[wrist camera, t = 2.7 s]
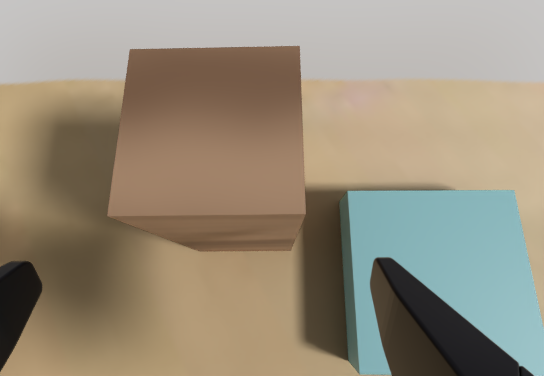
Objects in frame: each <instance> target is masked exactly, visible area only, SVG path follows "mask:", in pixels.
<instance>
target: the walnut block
mask: <svg viewBox="0 0 544 376" xmlns="http://www.w3.org/2000/svg"><path fill="white" fill-rule="evenodd" d="M305 215H306V204H305V177H304V151H303V124H302V97H301V72H300V47H299V46H279V47H278V46H276V47H228V48H227V47H225V48H173V49H130V52H129V60H128V67H127V74H126V82H125V89H124V96H123V103H122V111H121V118H120V125H119V133H118V140H117V147H116V155H115V162H114V169H113V177H112V184H111V191H110V199H109V206H108V213H107V216H108V217H110V218H113V219H116V220H118V221H121V222H124V223H126V224H129V225H131V226H134V227H137V228H139V229H142V230H145V231H147V232H150V233H153V234H155V235H158V236H161V237H163V238H166V239H169V240H171V241H174V242H176V243H179V244H182V245H184V246H187V247H190V248H192V249H195V250H198V251H291V249H292V247H293V244H294V242H295V239H296V237H297V234H298V232H299V230H300V227H301V225H302V222H303V220H304V217H305Z"/></svg>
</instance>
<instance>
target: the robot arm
mask: <svg viewBox="0 0 544 376" xmlns="http://www.w3.org/2000/svg"><path fill="white" fill-rule="evenodd" d="M370 290H371V295H372V300H373V305H374V309H375V314H376V319H377V324H378V328H379V333H380V338H381V342H382V347H383V350H384V353H385V357H386V360H387V363H388V366H389V369H390V372H391V375H392V376H534V375H533V374H532V373H531V372H530V371H528V370H527V369H526V368H525V367H523V366H519V363H518V362H517V361H516V360H515V359H514V358H512V357H511V356H510V355H509V354H508V353H506V352H505V351H504V350H503V349H501V348H500V347H499V346H498V345H497V344H495V343H494V342H493V341H492V340H491V339H489V338H488V337H487V336H486V335H485V334H483V333H482V332H481V331H480V330H479V329H477V328H476V327H475V326H474V325H472V324H471V323H470V322H469V321H468V320H466V319H465V318H464V317H463V316H462V315H460V314H459V313H458V312H457V311H456V310H454V309H453V308H452V307H451V306H449V305H448V304H447V303H446V302H445V301H443V300H442V299H441V298H440V297H439V296H437V295H436V294H435V293H434V292H433V291H431V290H430V289H429V288H428V287H427V286H425V285H424V284H423V283H422V282H420V281H419V280H418V279H417V278H416V277H414V276H413V275H412V274H411V273H410V272H408V271H407V270H406V269H405V268H404V267H402V266H401V265H400V264H399V263H397V262H396V261H395V260H394V259H392V258H390V257H377V258H375V259H374V261H373V266H372V272H371V278H370ZM41 292H42V282H41V280H40V278H39V276H38V274H37V272H36V270H35V268H34V266H33V265H32V263H30V262H29V261H11V262H9V263H7V264H5V265H3V266H1V267H0V372H1V370H2V368H3V367H4V365H5V363H6V362H7V360H8V358H9V356H10V355H11V353H12V351H13V349H14V348H15V346H16V344H17V342H18V340H19V338H20V336H21V334H22V332H23V329H24V327H25V325H26V323H27V321H28V319H29V317H30V315H31V313H32V311H33V309H34V307H35V305H36V302H37V300H38V298H39V296H40V294H41Z"/></svg>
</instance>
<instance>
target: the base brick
mask: <svg viewBox="0 0 544 376" xmlns="http://www.w3.org/2000/svg"><path fill="white" fill-rule="evenodd" d="M339 205H340V223H341V240H342V258H343V275H344V292H345V310H346V327H347V345H348V361H349V362H350V364H351V365H352V366H353V367H354V368H355V369H356V371H357V372H358V373H359V374H377V375H391V372H390V369H389V366H388V363H387V360H386V357H385V353H384V350H383V347H382V342H381V338H380V333H379V328H378V324H377V319H376V314H375V309H374V305H373V300H372V295H371V290H370V278H371V272H372V266H373V261H374V259H375V258H377V257H390V258H392V259H394V260H395V261H396V262H397V263H399V264H400V265H401V266H402V267H404V268H405V269H406V270H407V271H408V272H410V273H411V274H412V275H413V276H414V277H416V278H417V279H418V280H419V281H420V282H422V283H423V284H424V285H425V286H427V287H428V288H429V289H430V290H431V291H433V292H434V293H435V294H436V295H437V296H439V297H440V298H441V299H442V300H443V301H445V302H446V303H447V304H448V305H449V306H451V307H452V308H453V309H454V310H456V311H457V312H458V313H459V314H460V315H462V316H463V317H464V318H465V319H466V320H468V321H469V322H470V323H471V324H472V325H474V326H475V327H476V328H477V329H479V330H480V331H481V332H482V333H483V334H485V335H486V336H487V337H488V338H489V339H491V340H492V341H493V342H494V343H495V344H497V345H498V346H499V347H500V348H501V349H503V350H504V351H505V352H506V353H508V354H509V355H510V356H511V357H512V358H514V359H515V360H516V361H517V362H518V363H519V366H523V367H525V368H526V369H527V370H528V371H530V372H531V373H532V374H533V375H534V376H544V328H543V324H542V319H541V314H540V310H539V305H538V300H537V295H536V291H535V286H534V281H533V277H532V272H531V267H530V263H529V258H528V253H527V248H526V244H525V239H524V234H523V230H522V225H521V220H520V216H519V211H518V206H517V201H516V197H515V192H514V190H439V191H347V192H346V194H345V195H344V196H343V198H342V199H341V200H340V202H339Z"/></svg>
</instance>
